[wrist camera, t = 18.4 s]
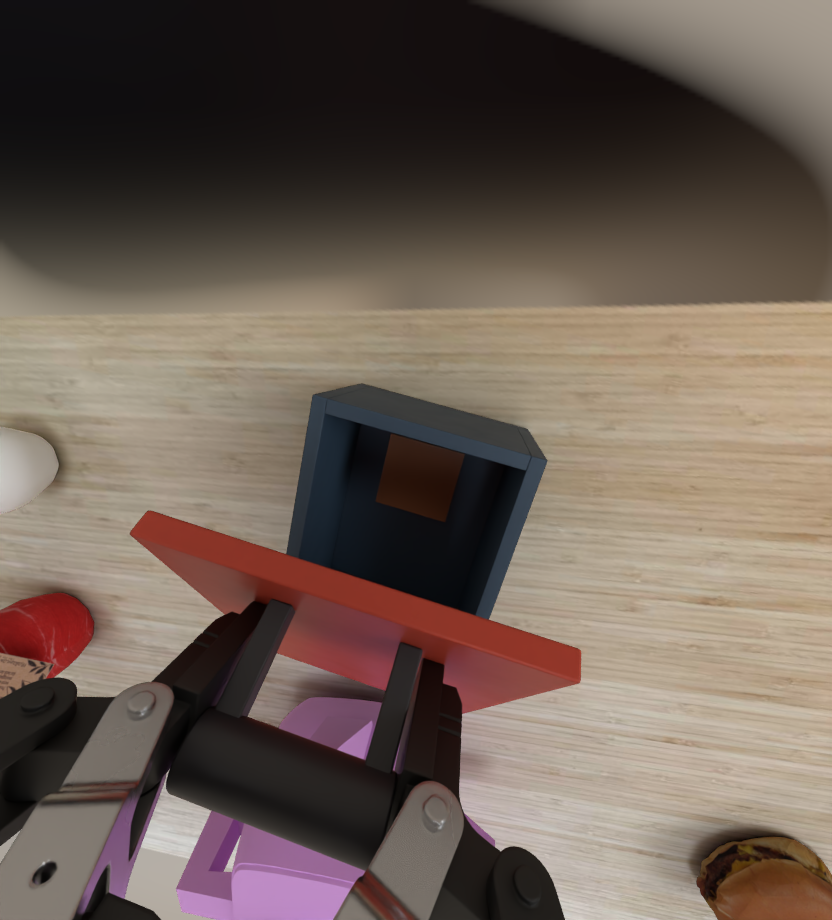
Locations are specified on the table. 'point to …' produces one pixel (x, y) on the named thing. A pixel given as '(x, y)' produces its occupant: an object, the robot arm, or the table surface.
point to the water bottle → (41, 638)
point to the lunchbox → (401, 532)
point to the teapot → (281, 840)
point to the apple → (24, 467)
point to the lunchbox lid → (339, 651)
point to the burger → (766, 881)
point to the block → (419, 477)
